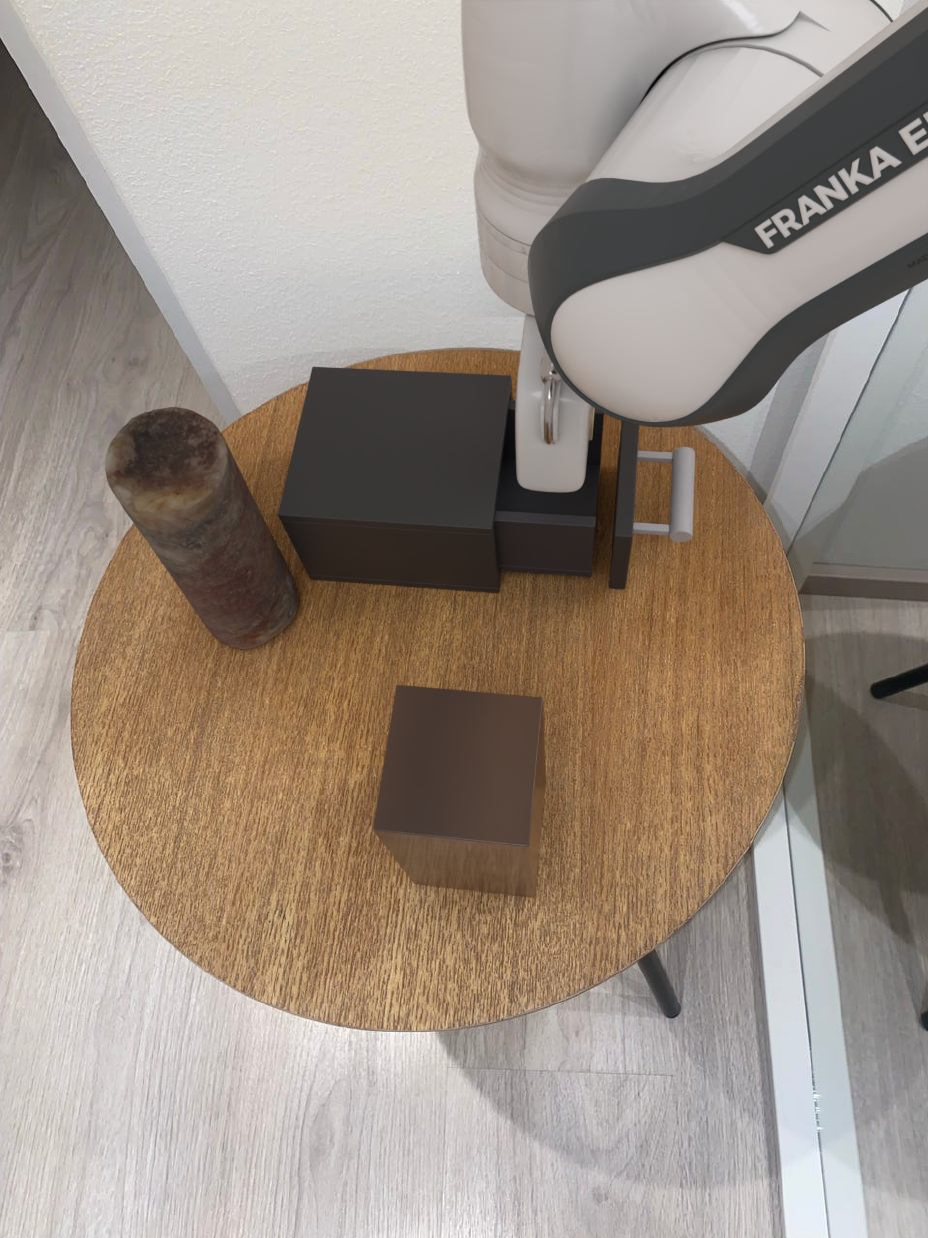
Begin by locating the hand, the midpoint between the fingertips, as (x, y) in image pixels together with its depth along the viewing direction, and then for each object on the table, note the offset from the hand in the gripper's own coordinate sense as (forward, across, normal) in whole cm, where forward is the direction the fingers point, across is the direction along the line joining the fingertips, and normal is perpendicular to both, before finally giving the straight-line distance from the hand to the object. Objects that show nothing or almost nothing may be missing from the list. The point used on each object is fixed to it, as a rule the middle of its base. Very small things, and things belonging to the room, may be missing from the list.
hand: (563, 401), depth 61 cm
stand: (+15, -24, +4) cm, 29 cm away
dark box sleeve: (+15, 0, +12) cm, 19 cm away
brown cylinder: (+15, -9, +22) cm, 29 cm away
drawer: (+14, 0, 0) cm, 14 cm away
